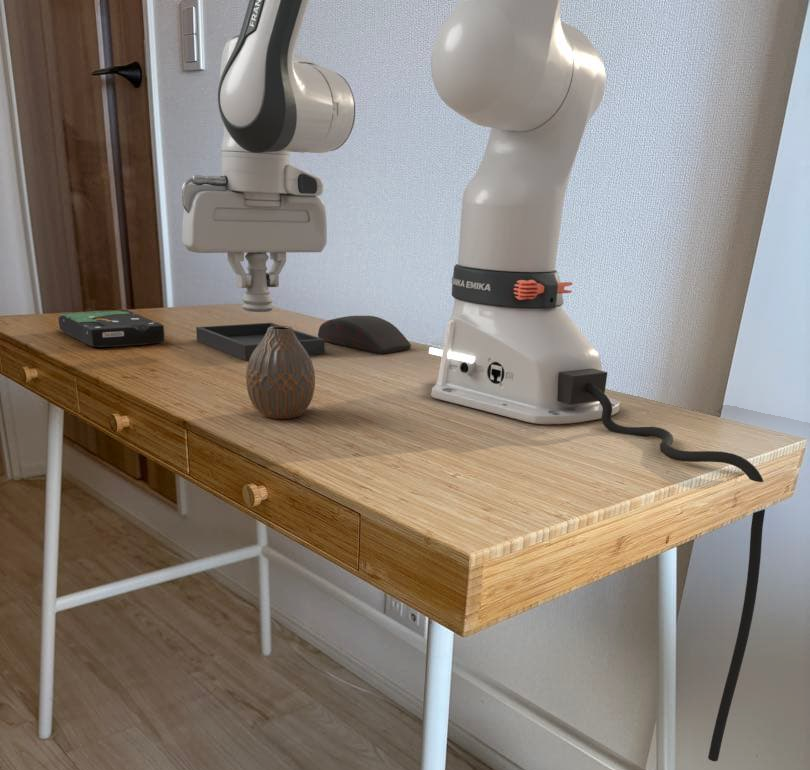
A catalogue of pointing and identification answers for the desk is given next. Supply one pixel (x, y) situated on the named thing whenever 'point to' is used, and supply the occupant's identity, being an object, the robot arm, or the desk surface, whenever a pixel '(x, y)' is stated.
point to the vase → (280, 375)
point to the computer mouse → (364, 334)
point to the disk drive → (111, 328)
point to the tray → (250, 339)
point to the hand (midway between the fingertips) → (257, 287)
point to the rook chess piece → (257, 285)
